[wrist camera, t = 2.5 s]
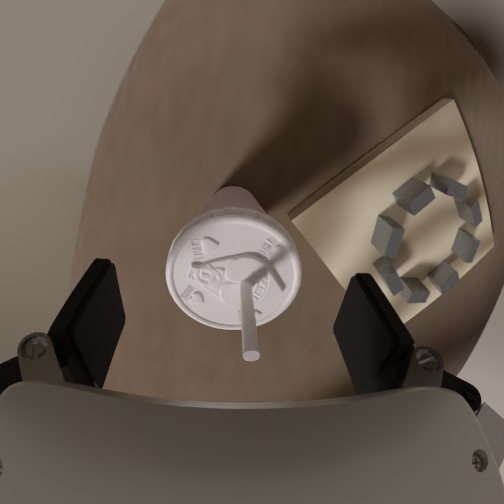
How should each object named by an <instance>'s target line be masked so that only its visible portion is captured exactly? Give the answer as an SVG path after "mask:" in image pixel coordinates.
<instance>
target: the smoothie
mask: <svg viewBox="0 0 504 504" xmlns="http://www.w3.org/2000/svg"><path fill="white" fill-rule="evenodd" d="M301 275H302V270H301V262H300V258H299V254H298V252H297V249H296V246H295V243H294V240H293V239H292V237H291V236H290V235H289V233H288V232H287V231H286V229H285V228H284V227H283V226H282V225H281V224H279V223H278V222H277V221H275V220H274V219H273V218H271V217H270V216H268V215H267V214H266V212H265V211H264V210H263V208H262V207H261V206H260V204H259V203H258V202H257V200H256V199H255V198H254V197H253V195H252V194H251V193H250V192H249V191H247V190H246V189H244V188H242V187H238V186H228V187H225V188H222V189H220V190H219V191H217V192H216V193H215V194H214V195H213V197H212V198H211V199H210V201H209V202H208V203H207V205H206V206H205V208H204V209H203V210H202V212H201V213H200V214H199V216H197V217H195V218H194V219H193V220H191V221H190V222H189V223H188V224H186V225H185V226H184V227H182V229H181V230H180V232H179V233H178V234H177V236H176V237H175V239H174V240H173V242H172V245H171V248H170V251H169V254H168V259H167V264H166V281H167V285H168V289H169V291H170V293H171V295H172V297H173V299H174V301H175V302H176V303H177V305H178V306H179V307H180V308H181V309H182V310H183V311H184V312H185V313H186V314H187V315H189V316H190V317H192V318H193V319H195V320H197V321H198V322H201V323H203V324H205V325H208V326H211V327H215V328H219V329H227V330H239V329H242V344H243V358H244V359H245V360H247V361H255V360H257V359H258V358H259V356H260V354H259V345H258V337H257V328H256V326H259V325H262V324H264V323H266V322H268V321H270V320H272V319H274V318H275V317H277V316H278V315H280V314H281V313H282V312H283V311H284V310H285V309H286V308H287V307H288V306H289V305H290V304H291V302H292V301H293V299H294V298H295V296H296V294H297V292H298V289H299V286H300V283H301Z"/></svg>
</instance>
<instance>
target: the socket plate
mask: <svg viewBox="0 0 504 504" xmlns="http://www.w3.org/2000/svg"><path fill="white" fill-rule="evenodd" d="M432 172H433V173H436V174H440V175H443V176H446V177H449V178H451V179H453V180H456V181H458V182H460V183H462V184H464V185H466V186H468V188H467V192H466V194H468V195H470V196H472V197H474V198H476V199H477V200H478V201H479V205H480V210H481V215H482V219H483V221H482V222H481V223H480V224H479V225H478V226H477V227H476V228H475V227H473V226H472V225H470V224H469V223H467V222H466V221H464V220H463V219H461V218H460V217H459V215H458V211H457V208H456V205H455V201H454V198H453V197H452V196H448V195H446V194H444V193H442V192H440V191H438V190H436V189H434V188H433V187H431V188H432V190H433V193H434V195H435V199H434V200H433V201H432V202H431V203H429V204H428V205H427V206H426V207H425V208H423V209H422V210H421V211H420V212H419V213H417V214H416V215H415V216H413V215H412V214H410V213H409V212H408V211H406V210H405V209H403V208H402V207H400V206H399V205H398V204H397V202H396V200H395V198H394V196H393V194H392V193H393V192H394V191H396V190H397V189H398V188H399V187H401V186H402V185H403V184H404V183H406V182H407V181H408V180H409V179H411V178H412V177H414V178H416V179H418V180H421V181H423V182H425V183H427V184H428V185H429V183H430V178H431V174H432ZM288 215H289V217H290V219H291V221H292V222H293V224H294V225H295V226H296V227H297V229H298V230H299V231H300V232H301V234H302V235H303V236H304V237H305V239H306V240H307V241H308V242H309V244H310V245H311V246H312V247H313V249H314V250H315V251H316V253H317V254H318V255H319V256H320V258H321V259H322V260H323V262H324V263H325V264H326V266H327V267H328V268H329V269H330V271H331V272H332V273H333V275H334V276H335V277H336V279H337V280H338V281H339V283H340V284H341V285H342V287H343V288H344V289H345V291H346V290H347V287H348V285H349V282H350V279H351V277H352V276H355V274H356V273H370V274H371V275H372V277H373V278H374V280H375V281H376V282H377V284H378V285H379V287H380V288H381V290H382V291H383V293H384V294H385V296H386V297H387V299H388V300H389V302H390V303H391V305H392V306H393V308H394V309H395V311H396V313H397V314H398V316H399V317H400V319H401V320H402V322H403V324H404V323H405V322H407V321H408V320H409V319H411V318H412V317H413V316H415V315H416V314H417V313H419V312H420V311H421V310H423V309H424V308H425V307H426V306H428V305H429V304H430V303H431V302H433V301H434V300H435V299H436V298H438V297H439V296H440V295H441V293H440V292H439V291H438V289H437V288H436V287H435V286H434V285H433V284H432V283H431V282H430V280H429V277H428V273H429V272H430V271H431V270H433V269H434V268H435V267H436V266H437V265H439V264H440V263H441V262H442V261H443V260H445V261H446V262H447V263H448V264H449V265H450V266H451V267H452V268H453V269H455V270H456V271H457V272H458V275H459V279H460V278H461V277H462V276H463V275H464V274H465V273H466V272H468V271H469V270H470V269H471V268H472V267H473V266H474V265H475V264H476V263H477V262H478V261H479V260H480V259H481V258H482V257H483V256H484V255H485V254H486V253H487V252H488V251H489V250H490V249H491V248H492V247H493V246H494V241H493V233H492V227H491V220H490V215H489V209H488V204H487V200H486V195H485V191H484V186H483V182H482V178H481V175H480V171H479V167H478V164H477V160H476V157H475V154H474V151H473V148H472V145H471V142H470V139H469V136H468V133H467V131H466V128H465V125H464V123H463V120H462V118H461V115H460V113H459V110H458V108H457V106H456V103H455V101H454V99H446V98H443V99H441V100H440V101H439V102H437V103H436V104H434V105H433V106H432V107H430V108H429V109H428V110H426V111H425V112H423V113H422V114H421V115H419V116H418V117H417V118H415V119H414V120H413V121H411V122H410V123H408V124H407V125H406V126H404V127H403V128H402V129H400V130H399V131H398V132H396V133H395V134H393V135H392V136H391V137H389V138H388V139H387V140H385V141H384V142H383V143H381V144H380V145H379V146H377V147H376V148H375V149H373V150H372V151H370V152H369V153H368V154H366V155H365V156H364V157H362V158H361V159H360V160H358V161H357V162H356V163H354V164H353V165H352V166H350V167H349V168H348V169H346V170H345V171H344V172H342V173H341V174H340V175H338V176H337V177H336V178H334V179H333V180H332V181H330V182H329V183H328V184H326V185H325V186H324V187H322V188H321V189H320V190H318V191H317V192H316V193H314V194H313V195H312V196H310V197H309V198H308V199H306V200H305V201H304V202H302V203H301V204H300V205H298V206H297V207H296V208H294V209H293V210H292V211H290V212H289V213H288ZM378 215H380V216H387V217H391V218H392V219H393V220H394V221H396V222H397V223H398V224H399V225H400V226H402V227H403V228H404V229H405V232H404V235H403V238H402V242H401V245H400V248H399V251H398V254H397V257H396V258H390V257H385V258H386V260H387V261H388V262H389V263H390V264H391V265H392V266H393V268H394V269H395V270H396V271H397V273H398V275H399V278H400V277H407V278H419V280H420V281H421V282H422V283H423V284H424V285H425V286H426V288H427V289H428V290H429V291H430V295H429V297H428V299H427V301H426V303H409V304H407V302H406V301H405V300H404V298H403V297H402V296H401V294H400V293H398V294H396V295H395V296H393V295H392V293H391V292H390V291H389V289H388V288H387V287H386V285H385V284H384V283H383V281H382V280H381V278H380V276H379V275H378V273H377V271H376V269H375V268H374V266H373V264H372V263H374V262H375V261H376V260H378V259H379V258H380V257H382V255H381V253H380V252H379V251H378V250H377V249H376V248H375V247H374V246H373V245H372V243H371V239H372V235H373V232H374V228H375V224H376V221H377V217H378ZM458 228H459V229H465V230H467V231H468V232H469V233H471V234H472V235H473V236H475V237H476V238H477V239H479V240H480V243H479V246H478V249H477V251H476V254H475V256H474V259H473V261H472V263H465V262H464V261H463V260H462V259H461V258H459V257H458V256H457V255H456V254H455V253H454V252H452V251H451V248H452V245H453V243H454V240H455V237H456V234H457V231H458Z"/></svg>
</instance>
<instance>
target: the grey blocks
mask: <svg viewBox="0 0 504 504" xmlns="http://www.w3.org/2000/svg"><path fill="white" fill-rule="evenodd" d="M431 187H433V188H434V189H436V190H438V191H440V192H442V193H444V194H446V195H448V196H452V197H453V198H454V201H455V205H456V208H457V211H458V215H459V217H460V218H461V219H463V220H464V221H466V222H467V223H469V224H470V225H472V226H473V227H475V228H476V227H477V226H478V225H479V224H480V223H481V222H482V221H483V219H482V215H481V210H480V205H479V201H478V200H477V199H476V198H474V197H472V196H470V195H468V194H466V192H467V188H468V186H466V185H464V184H462V183H460V182H458V181H456V180H453V179H451V178H449V177H446V176H443V175H440V174H436V173H433V172H432V174H431V178H430V183H429V185H428V184H427V183H425V182H423V181H421V180H418V179H416V178H414V177H412V178H411V179H409V180H408V181H407V182H406V183H404V184H403V185H402V186H401V187H399V188H398V189H397V190H396V191H394V192H393V193H392V194H393V196H394V198H395V200H396V202H397V204H398V205H399V206H400V207H402V208H403V209H405V210H406V211H408V212H409V213H410V214H412V215H413V216H415V215H416V214H417V213H419V212H420V211H421V210H422V209H423V208H425V207H426V206H427V205H428V204H429V203H431V202H432V201H433V200H434V199H435V195H434V193H433V190H432V188H431ZM404 232H405V229H404V228H403V227H402V226H400V225H399V224H398V223H397V222H396V221H394V220H393V219H392V218H391V217H387V216H380V215H378V217H377V221H376V224H375V228H374V232H373V235H372V239H371V243H372V245H373V246H374V247H375V248H376V249H377V250H378V251H379V252H380V253H381V255H382V257H380V258H379V259H378V260H376V261H375V262H374V263H372V264H373V266H374V268H375V269H376V271H377V273H378V275H379V276H380V278H381V280H382V281H383V283H384V284H385V285H386V287H387V288H388V289H389V291H390V292H391V293H392V295H393V296H395V295H396V294H398V293H400V294H401V296H402V297H403V298H404V300H405V301H406V302H407V304H409V303H426V301H427V299H428V297H429V295H430V291H429V290H428V289H427V288H426V286H425V285H424V284H423V283H422V282H421V281H420V280H419V278H407V277H400V278H399V275H398V273H397V271H396V270H395V269H394V268H393V266H392V265H391V264H390V263H389V262H388V261H387V260H386V258H385V257H390V258H396V257H397V254H398V251H399V248H400V245H401V242H402V238H403V235H404ZM479 243H480V240H479V239H477V238H476V237H475V236H473V235H472V234H471V233H469V232H468V231H467V230H465V229H459V228H458V231H457V234H456V237H455V240H454V243H453V245H452V248H451V251H452V252H454V253H455V254H456V255H457V256H458V257H459V258H461V259H462V260H463V261H464V262H465V263H472V261H473V259H474V256H475V254H476V251H477V249H478V246H479ZM428 277H429V280H430V282H431V283H432V284H433V285H434V286H435V287H436V288H437V289H438V291H439V292H440V293H441V294H442V295H443V294H444V293H446V292H447V291H448V290H449V289H450V288H451V287H453V286H454V285H455V284H456V283H457V282H458V281H459V275H458V272H457V271H456V270H455V269H453V268H452V267H451V266H450V265H449V264H448V263H447V262H446V261H445V260H443V261H442V262H441V263H440V264H439V265H437V266H436V267H435V268H434V269H433V270H431V271H430V272H429V273H428Z"/></svg>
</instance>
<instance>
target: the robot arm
mask: <svg viewBox="0 0 504 504" xmlns="http://www.w3.org/2000/svg"><path fill="white" fill-rule="evenodd" d="M124 324H125V312H124V308H123V304H122V299H121V294H120V289H119V284H118V279H117V274H116V268H115V265H114V263H111V261H110V260H109V259H99V258H96V259H95V260H94V261H93V263H92V264H91V265H90V267H89V268H88V270H87V271H86V272H85V274H84V275H83V277H82V278H81V280H80V281H79V283H78V284H77V286H76V287H75V289H74V290H73V292H72V293H71V295H70V296H69V298H68V299H67V301H66V302H65V304H64V306H63V307H62V309H61V310H60V312H59V314H58V316H57V317H56V319H55V320H54V322H53V324H52V325H51V327H50V330H49V332H48V334H47V335H46V334H45V333H42V332H35V333H31V334H29V335H27V336H26V337H24V338H23V339H22V340H21V342H20V343H19V346H18V348H17V355H18V356H17V357H14V358H12V359H10V360H8V361H6V362H3V363H2V364H0V504H504V485H503V481H502V478H501V475H500V472H499V467H500V465H501V463H502V461H503V458H504V419H503V418H502V417H501V416H499V415H498V414H497V413H496V412H495V411H494V410H493V409H492V408H490V407H489V406H488V405H487V404H486V403H485V402H484V403H483V404H481V396H480V393H479V391H478V390H477V389H476V388H475V387H474V386H473V385H471V384H470V383H468V382H466V381H464V380H462V379H460V378H458V377H456V376H454V375H452V374H450V373H448V372H446V371H444V362H443V359H442V357H441V356H440V355H439V353H437V352H436V351H435V350H434V349H432V348H430V347H426V346H420V347H417V348H416V349H415V348H414V347H413V344H414V340H413V338H412V337H411V335H410V333H409V332H408V330H407V328H406V327H405V325H404V324H403V322H402V320H401V319H400V317H399V316H398V314H397V313H396V311H395V309H394V308H393V306H392V305H391V303H390V302H389V300H388V299H387V297H386V296H385V294H384V293H383V291H382V290H381V288H380V287H379V285H378V284H377V282H376V281H375V280H374V278H373V277H372V275H371V274H370V273H356V274H355V276H352V277H351V279H350V282H349V285H348V287H347V290H346V293H345V296H344V299H343V302H342V304H341V307H340V310H339V312H338V315H337V318H336V320H335V323H334V327H333V330H334V334H335V337H336V340H337V342H338V345H339V348H340V350H341V353H342V356H343V358H344V361H345V364H346V366H347V369H348V372H349V375H350V377H351V380H352V383H353V386H354V389H355V391H356V394H357V395H354V396H347V397H339V398H330V399H320V400H309V401H294V402H272V403H224V402H203V401H188V400H177V399H167V398H158V397H150V396H143V395H136V394H130V393H124V392H117V391H112V390H106V389H102V387H103V385H104V382H105V379H106V375H107V372H108V369H109V366H110V363H111V360H112V358H113V355H114V352H115V349H116V346H117V343H118V341H119V338H120V335H121V332H122V330H123V327H124Z"/></svg>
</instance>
